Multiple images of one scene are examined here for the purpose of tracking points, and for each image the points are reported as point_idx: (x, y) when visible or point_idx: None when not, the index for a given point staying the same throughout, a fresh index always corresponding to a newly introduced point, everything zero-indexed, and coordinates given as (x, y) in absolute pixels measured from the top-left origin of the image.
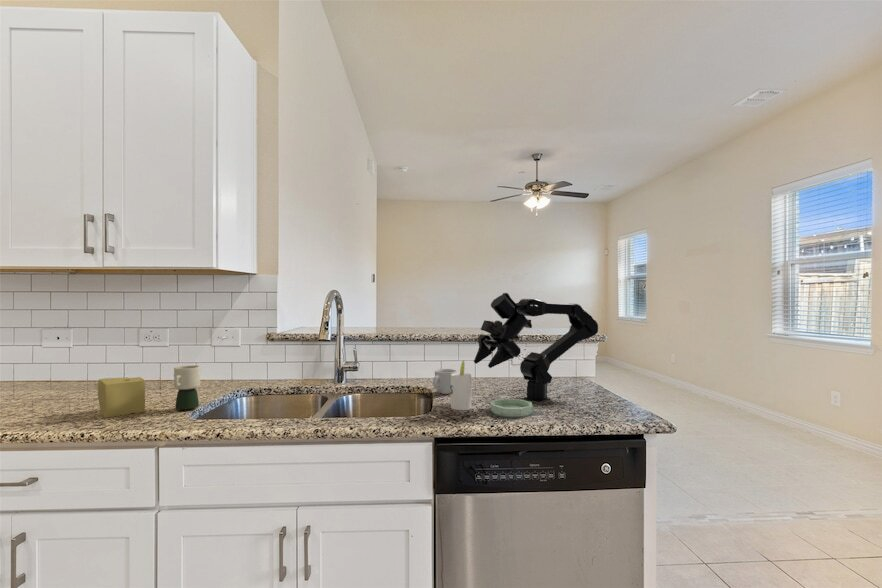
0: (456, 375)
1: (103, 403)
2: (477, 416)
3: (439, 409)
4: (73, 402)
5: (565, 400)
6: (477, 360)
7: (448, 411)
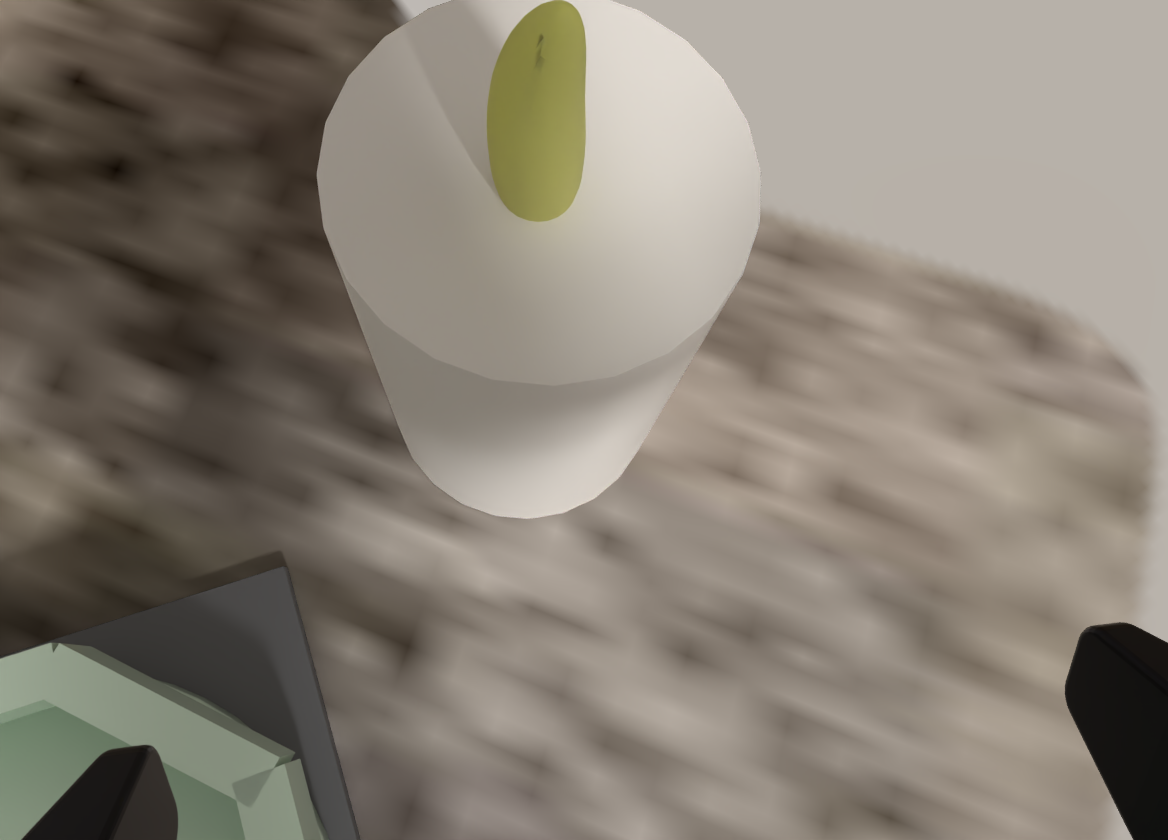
0: (484, 60)
1: None
2: (111, 450)
3: None
4: None
5: None
6: (1133, 750)
7: None
